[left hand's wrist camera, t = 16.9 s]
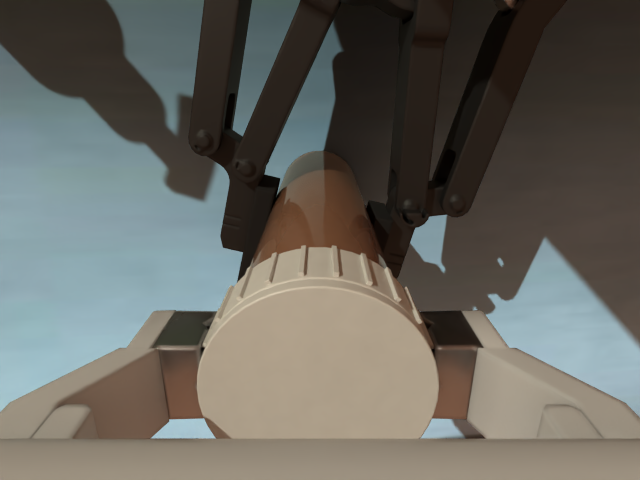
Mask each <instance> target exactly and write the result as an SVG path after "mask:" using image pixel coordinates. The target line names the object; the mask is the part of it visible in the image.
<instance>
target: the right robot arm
mask: <svg viewBox="0 0 640 480" xmlns="http://www.w3.org/2000/svg"><path fill="white" fill-rule="evenodd" d="M453 1H454V0H300V3H299V6H298V8H297V11H296V13H295V15H294V18H293V20H292V22H291V25H290V27H289V29H288V32H287V34H286V37H285V39H284V41H283V44H282V46H281V48H280V51H279V53H278V55H277V58H276V60H275V62H274V65H273V67H272V69H271V72H270V74H269V76H268V79H267V81H266V83H265V86H264V88H263V91H262V93H261V95H260V98H259V100H258V102H257V105H256V107H255V109H254V112H253V114H252V116H251V119H250V121H249V123H248V126H247V128H246V130H245V133H244V135H243V137H242V136H241V135H239V134H238V133H236V132H235V131H233V130H232V129H233V122H234V115H235V109H236V102H237V96H238V89H239V82H240V76H241V69H242V62H243V56H244V49H245V43H246V36H247V29H248V23H249V16H250V9H251V3H252V0H204V8H203V17H202V25H201V34H200V42H199V51H198V59H197V68H196V77H195V85H194V94H193V102H192V111H191V120H190V128H189V137H188V138H189V145H190V147H191V149H192V150H193V151H194V152H195V153H196V154H199V155H201V156H207V157H209V158H211V159H212V160H214V161H215V162H217V163H218V164H220V165H221V166H222V167H224V169H225V170H226V171H227V173H228V175H229V179H230V185H229V191H228V196H227V202H226V208H225V213H224V219H223V225H222V230H221V241H222V245H223V248H227V249H232V250H236V251H240V252H243V256H242V261H241V266H240V271H239V276H238V281H239V280H240V279H241V278H242V277H243V276H244V275H245V273H246V271H247V268H249V267H250V264H251V262H252V259H253V257H254V254H255V251H256V249H257V246H258V244H259V241H260V238H261V236H262V233H263V231H264V228H265V225H266V223H267V220H268V218H269V215H270V212H271V210H272V207H273V205H274V202H275V199H276V196H277V192H278V187H279V182H280V178H276V177H272V176H268V175H264V173H265V168H266V165H267V163H268V162H269V159H270V157H271V154H272V152H273V150H274V148H275V146H276V143H277V141H278V139H279V137H280V135H281V132H282V130H283V128H284V126H285V124H286V121H287V119H288V117H289V115H290V113H291V110H292V108H293V106H294V104H295V102H296V100H297V97H298V95H299V93H300V91H301V89H302V86H303V84H304V82H305V80H306V78H307V75H308V73H309V71H310V69H311V67H312V64H313V62H314V60H315V58H316V56H317V53H318V51H319V49H320V47H321V45H322V42H323V40H324V38H325V36H326V34H327V32H328V29H329V27H330V25H331V23H332V21H333V19H334V17H335V15H336V13H337V10H338V8H339V6H340V4H341V2H343V3H346V4H350V5H374V6H376V7H378V8H379V9H381V10H382V11H384V12H385V13H387V14H388V15H390V16H392V17H396V18H399V19H400V26H399V62H398V74H397V86H396V98H395V110H394V122H393V134H392V146H391V158H390V170H389V182H388V200H387V204H386V206H385V204H383V203H379V202H375V201H370V200H369V202H368V205H367V208H366V209H367V211H368V214H369V217H370V220H371V222H372V225H373V228H374V231H375V233H376V236H377V239H378V242H379V244H380V247H381V250H382V252H383V255H384V258H385V261H386V263H387V266H388V268H389V269H390V270H391V273H392V275H393V277H394V278H395V279H397V277H398V276H399V273H400V270H401V267H402V264H403V261H404V258H405V255H406V252H407V250H408V247H409V244H410V241H411V238H412V235H413V232H414V229H415V227H420V226H421V225H423V224H425V222H426V221H427V220H428V218H429V217H430V216H437V215H449V216H451V217H460V216H463V215H464V214H466V213H467V212H468V211H469V209H470V208H471V206H472V203H473V201H474V198H475V196H476V193H477V191H478V189H479V186H480V184H481V181H482V179H483V176H484V174H485V172H486V169H487V167H488V164H489V162H490V159H491V157H492V155H493V152H494V150H495V147H496V145H497V142H498V140H499V138H500V135H501V133H502V130H503V128H504V125H505V123H506V120H507V118H508V116H509V113H510V111H511V108H512V106H513V103H514V101H515V99H516V96H517V94H518V91H519V89H520V86H521V84H522V82H523V79H524V77H525V74H526V72H527V69H528V67H529V65H530V62H531V60H532V57H533V55H534V52H535V50H536V48H537V45H538V43H539V40H540V38H541V35H542V33H543V31H544V28H545V27H546V26H547V25H548V23H549V22H550V21H551V20H552V18H553V17H554V16H555V15H556V13H557V12H558V11H559V10H560V8H561V7H562V6H563V5H564V3H565V2H566V1H567V0H494V2H495V5H496V6H497V8H498V9H499V11H498V13H497V14H496V15H495V17H494V19H493V21H492V22H491V24H490V26H489V28H488V30H487V33H486V35H485V37H484V40H483V42H482V45H481V48H480V50H479V53H478V56H477V58H476V61H475V64H474V67H473V69H472V72H471V75H470V77H469V80H468V83H467V86H466V88H465V91H464V94H463V96H462V99H461V102H460V105H459V107H458V110H457V113H456V115H455V118H454V121H453V123H452V126H451V129H450V132H449V134H448V137H447V140H446V142H445V145H444V148H443V151H442V153H441V156H440V159H439V161H438V164H437V167H436V170H435V172H434V175H433V178H432V180H431V181H429V173H430V164H431V156H432V147H433V139H434V130H435V122H436V113H437V105H438V96H439V88H440V79H441V70H442V62H443V53H444V46H445V43H446V40H447V38H448V35H449V32H450V26H451V18H452V10H453ZM238 281H237V282H238Z"/></svg>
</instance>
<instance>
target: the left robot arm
mask: <svg viewBox="0 0 640 480" xmlns="http://www.w3.org/2000/svg"><path fill="white" fill-rule="evenodd" d="M216 313H217V311H176V310H166V311H154V312H153V313H152V314H151V315H150V317H149V318H148V319H147V321H146V322H145V323H144V325H143V326H142V327H141V329H140V330H139V332H138V333H137V334H136V336H135V337H134V338H133V340H132V341H131V342H130V344H129V345H128V346H127V348H119V349H117V350H115V351H113V352H111V353H109V354H107V355H105V356H103V357H101V358H99V359H97V360H95V361H93V362H91V363H89V364H87V365H85V366H83V367H80V368H78V369H76V370H74V371H72V372H70V373H68V374H66V375H64V376H62V377H60V378H58V379H56V380H54V381H52V382H50V383H48V384H46V385H44V386H42V387H40V388H38V389H36V390H34V391H32V392H30V393H28V394H26V395H24V396H22V397H20V398H18V399H16V400H14V401H12V402H10V403H9V404H8V405H7V406H6V407H5V408H4V409H3V410H2V411H1V412H0V480H640V418H639V417H638V416H637V414H636V413H635V412H634V411H633V410H632V409H631V408H630V407H629V406H628V405H627V404H626V403H624V402H622V401H620V400H618V399H616V398H614V397H612V396H610V395H608V394H606V393H604V392H602V391H600V390H598V389H597V388H595V387H593V386H591V385H589V384H587V383H585V382H583V381H581V380H579V379H577V378H575V377H573V376H571V375H569V374H567V373H565V372H563V371H561V370H559V369H557V368H555V367H553V366H551V365H549V364H547V363H545V362H543V361H541V360H539V359H537V358H535V357H533V356H531V355H529V354H527V353H525V352H523V351H521V350H519V349H517V348H509V347H508V345H507V344H506V343H505V341H504V340H503V339H502V337H501V336H500V334H499V333H498V332H497V330H496V329H495V328H494V326H493V325H492V323H491V322H490V321H489V319H488V318H487V317H486V315H485V314H484V313H483V312H482V311H480V310H471V311H429V312H420V314H421V317H422V319H423V321H424V324H425V326H426V328H427V331H428V333H429V335H430V338H431V340H432V342H433V345H434V349H431V350H432V353H433V355H434V358H435V360H436V365H437V369H438V374H439V393H438V401H437V404H436V408H435V412H434V414H433V417H432V418H440V419H467V422H468V423H469V424H471V425H472V426H473V427H474V428H475V429H476V430H477V431H478V432H479V433H480V434H482V435H483V436H484V437H485V438H486V439H150V438H151V437H152V436H153V435H155V434H156V433H157V432H158V431H159V430H160V429H161V428H162V427H163V426H165V425H166V424H167V423H168V422H169V419H195V418H204V417H203V415H202V411H201V408H200V405H199V401H198V393H197V373H198V368H199V363H200V360H201V357H202V354H203V352H204V349H205V348H204V347H202V345H203V342H204V340H205V338H206V335H207V333H208V331H209V329H210V326H211V324H212V322H213V320H214V318H215V315H216Z"/></svg>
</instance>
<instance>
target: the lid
mask: <svg viewBox="0 0 640 480" xmlns="http://www.w3.org/2000/svg"><path fill="white" fill-rule="evenodd" d="M202 347H204V348H205V349H204V352H203V354H202V357H201V360H200V363H199V368H198V373H197V393H198V401H199V405H200V408H201V411H202V415H203V417H204V419H205V421H206V423H207V425H208V427H209V428H210V430H211V432H212V433H213V435H214V436H215V437H216V439H420V438H421V436H422V435H423V433H424V432H425V430H426V429H427V427H428V425H429V423H430V421H431V419H432V417H433V414H434V412H435V408H436V404H437V401H438V393H439V374H438V369H437V365H436V360H435V358H434V355H433V353H432V350H431V349H434V345H433V342H432V340H431V338H430V335H429V333H428V331H427V328H426V326H425V324H424V321H423V319H422V317H421V314H420V312H419V310H417V308H416V306H415V303H414V301H413V299H412V296H411V294H410V292H409V289H408V288H407V287H405V288H403V287H402V286H401V284H400V283H399V282H398V281H397V280H396V279H395V278H394V277H393V275H392V273H391V270H390V269H389V268H388V267H386V268H385V269H384V268H383V267H381V266H380V265H378V264H377V263H375V262H373V261H371V260H370V259H368V258H367V257H366V254H364V253H361V255H358V254H356V253H353V252H349V251H345V250H341V249H337V246H333V245H332V248H327V247H309V248H306V245H303V246H301V249H295V250H291V251H287V252H283V253H281V254H277V252H275V253H273V254H272V256H271V258H269V259H267V260H265V261H263V262H261V263H260V264H258V265H257V266H255V267H254V268H252V267H251V266H250V267H249V268H247V271H246V273H245V275H244V276H243V277H242V278H241V279H240V280H239V281H238V282H237V284H236V285H235V286H234V287H233V286H230V287H229V289H228V291H227V293H226V296H225V298H224V300H223V302H222V305H221V307H220V308H219V309H218V311H217V313H216V315H215V318H214V320H213V322H212V324H211V326H210V329H209V331H208V333H207V335H206V338H205V340H204V342H203V345H202Z"/></svg>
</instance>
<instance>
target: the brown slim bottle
mask: <svg viewBox="0 0 640 480" xmlns="http://www.w3.org/2000/svg"><path fill="white" fill-rule="evenodd" d="M303 245H306V248H309V247H327V248H332V245H333V246H337V249H341V250H345V251H349V252H353V253H356V254H358V255H361V253H364V254H366V257H367V258H368V259H370V260H371V261H373V262H375V263H377V264H378V265H380V266H381V267H383V268H384V269H385V268H386V267H388V266H387V263H386V261H385V258H384V255H383V252H382V250H381V247H380V244H379V242H378V239H377V236H376V233H375V231H374V228H373V225H372V222H371V220H370V217H369V214H368V211H367V209H366V206H365V203H364V201H363V198H362V195H361V192H360V190H359V187H358V184H357V181H356V179H355V176H354V173H353V171H352V169H351V168H350V166H349V165H348V164H347V163H346V161H345V160H343V159H342V158H341V157H339V156H338V155H336V154H333V153H330V152H326V151H312V152H308V153H306V154H303V155H302V156H300V157H298V158H297V159H296V160H295V161H294V162H292V164H291V165H290V166H289V168H288V169H287V171H286V173H285V176H284V179H283V181H282V184H281V186H280V189H279V192H278V194H277V197H276V199H275V202H274V205H273V207H272V210H271V212H270V215H269V218H268V220H267V223H266V225H265V228H264V231H263V233H262V236H261V238H260V241H259V244H258V246H257V249H256V251H255V254H254V257H253V259H252V262H251V264H250V266H251V267H252V268H254V267H255V266H257V265H258V264H260V263H261V262H263V261H265V260H267V259H269V258H271V256H272V254H273V253H275V252H277V254H281V253H283V252H287V251H291V250H295V249H301V246H303Z"/></svg>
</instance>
